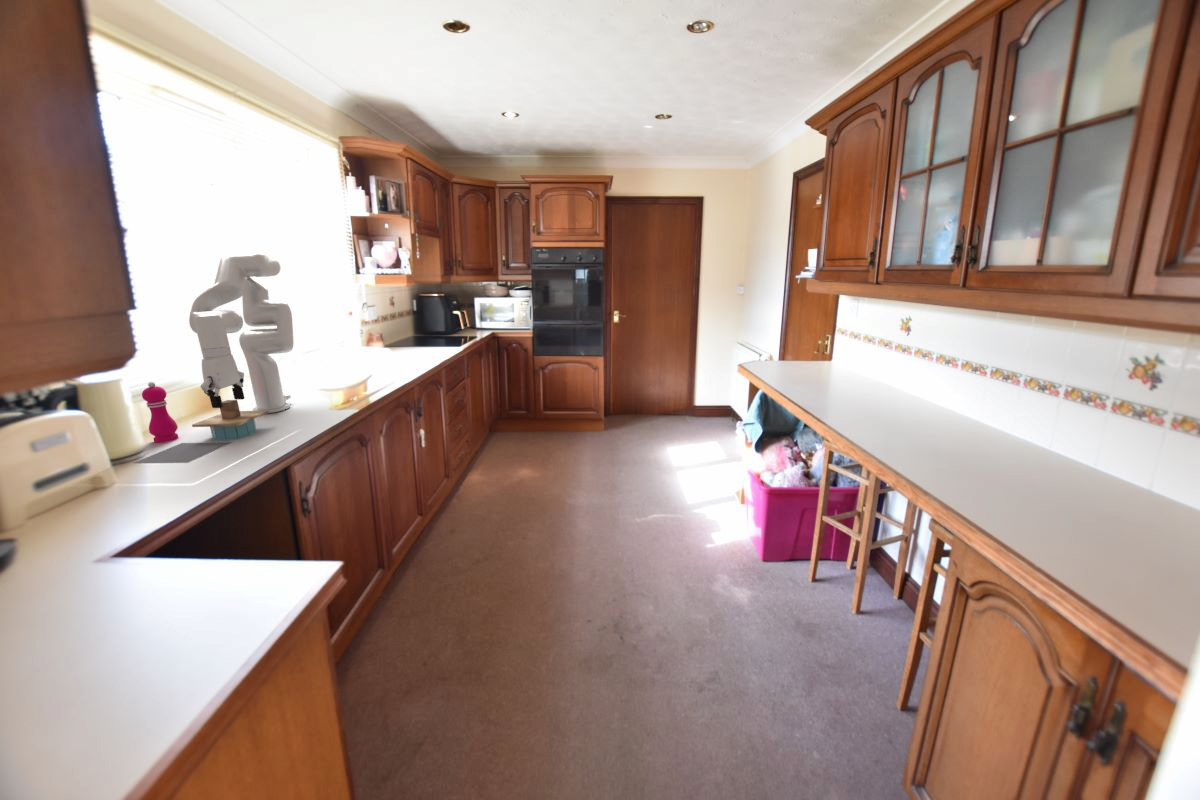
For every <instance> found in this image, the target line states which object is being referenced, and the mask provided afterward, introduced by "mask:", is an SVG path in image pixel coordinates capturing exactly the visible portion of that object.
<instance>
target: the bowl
mask: <svg viewBox="0 0 1200 800" xmlns="http://www.w3.org/2000/svg"><path fill="white" fill-rule="evenodd" d="M209 428H210V429H209V430H210V433H211V437H212V439H213V440H215V441H228V440H229V441H230V440H236V439H241V438H244V437H247V436H250V435H253V434H255V433H257V431H258V428H257V423H256V418H255V419H253V420H251V421H248V422H246V423H244V424H241V425H239V426H228V427H209Z"/></svg>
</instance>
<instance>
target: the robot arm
mask: <svg viewBox="0 0 1200 800" xmlns="http://www.w3.org/2000/svg"><path fill="white" fill-rule="evenodd" d="M280 272H281V261H280V259H279V257H278V256H277V255H276V254H275V253H273V252H232V253H228V254H224V255H223V256H222V257H221V258H220V261H219V264H218V268H217V272H216V276H215V279H214V283H213V285H211V286H210V287H209V288H207V289H206V290H205V291H203V292H202V293H201V294H199V296H197V297H196V298H195V299H194V300H193V303H192V306H191V310H190V313H189V319H188V320H189V321H188V322H189V327H190V329H191V330H192V331H193V332H194V333H195V334H196V335H197V338H198V342H199V346H200V347H199V348H200V350H201V354H202V359H201V372H202V378H203V382H202V383H201V385H200V388H201V390H202V391H203V393H204V394H205V395H207V397H209V401H210V404H211V408H213V409H220V408H222V407H223V405H222V402H223V401H222V398H221V395H219V394H220V391H221V390H222V389H224V388H227V387H231V386H232V388H231V390H232V395H233V400H244V399H245V395H244V390H243V387H244V384H243V383H244V382H245V379H244V377H245V372H242V371H239V370H238V366H237V364H236V360H235V358H234V355H233V354H232V351H231V347H230V342H229V337H228V335H227V334H235V333H238V332H239V331H240V330H241V329H242V328H243V326H244V322H245V324H246V325H247V326H250V327H257V328H258V329H256V328H255V329H249V330H245V331H243V332H242V333H241V334H240V335H239V339H238V343H239V346H240V348H241V350H242V352H243V355H244V357H245V361H246V364H247V369H248V372H249V377H250V381H251V385H252V386H251V387H252V390H253V391H252V392H253V397H254V401H255V406H256V407H254V408H253V409H252V411H269V413H268V414H272V413H278V412H282V411H283V412H284V411H286V410H288V409H289V408H291V404H290V403H288V402H286V401H287V400H290V399H291V398H292V397H291V394H290V393H288V394H284V392H283V391H284V390H283V387H282V383H281V377H280V373H279V367H278V364H277V362H276V361H275V359H274V358H273V357H272V356H271V355H272V354H287V353H290V352H291V351H293V349H294V328H293V327H294V326H293V313H292V311H291V308H290V306H289V304H288V303H287V302H285V301H282V300H270V297H269V290H268V288H267V286H266V285H265V284H264V283H263V282H262V281H260V280H259V278H262V277H266V278H267V277H273V276H278V275H279V273H280ZM239 298H242V315H243V317H242V316H241V315H240V313H238V312H237V311H235V310H216V309H217V308H218V307H220V306H223V305H226V304H229V303H231V302H233V301H236V300H238V299H239ZM260 327H275V328H260ZM285 409H286V410H285Z"/></svg>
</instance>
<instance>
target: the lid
mask: <svg viewBox="0 0 1200 800" xmlns="http://www.w3.org/2000/svg"><path fill="white" fill-rule="evenodd" d="M222 405H223V407H222V408H219V411H220V413H219V414H217V415H213V416H211V417H209V418H207V419H203V420H200V421H198V422H195V423H192V424H191V426H192V428H210V427H228V426H239V425H241V424H244V423H246V422H248V421H251V420H253V419H255V420H256V419H257V418H260V417H262V416H263V417H264V416H265V415H268V414H270V413H269V411H253V410H240V408H239V407H240V405H239V403H238V399H226V400H223V401H222Z"/></svg>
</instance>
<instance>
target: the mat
mask: <svg viewBox="0 0 1200 800" xmlns="http://www.w3.org/2000/svg"><path fill="white" fill-rule="evenodd" d="M229 444H232V442H230V441H229V442H225V441H224V442H181V443H179V444H175V445H174V446H171V447H169V448H166V449H163V450H161V451H158V452H156V453H154V454H152V455H149V456H146V457H145V458H142V459H139V460H137V461H134V462H133V464H181V463H182V464H188V463H191V462H192V461H195V460H198V459H199V458H201V457H203V456H206V455H208V454H210V453H212V452H215V451H216V450H218V449H221V448H223V447H226V446H227V445H229Z"/></svg>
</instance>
